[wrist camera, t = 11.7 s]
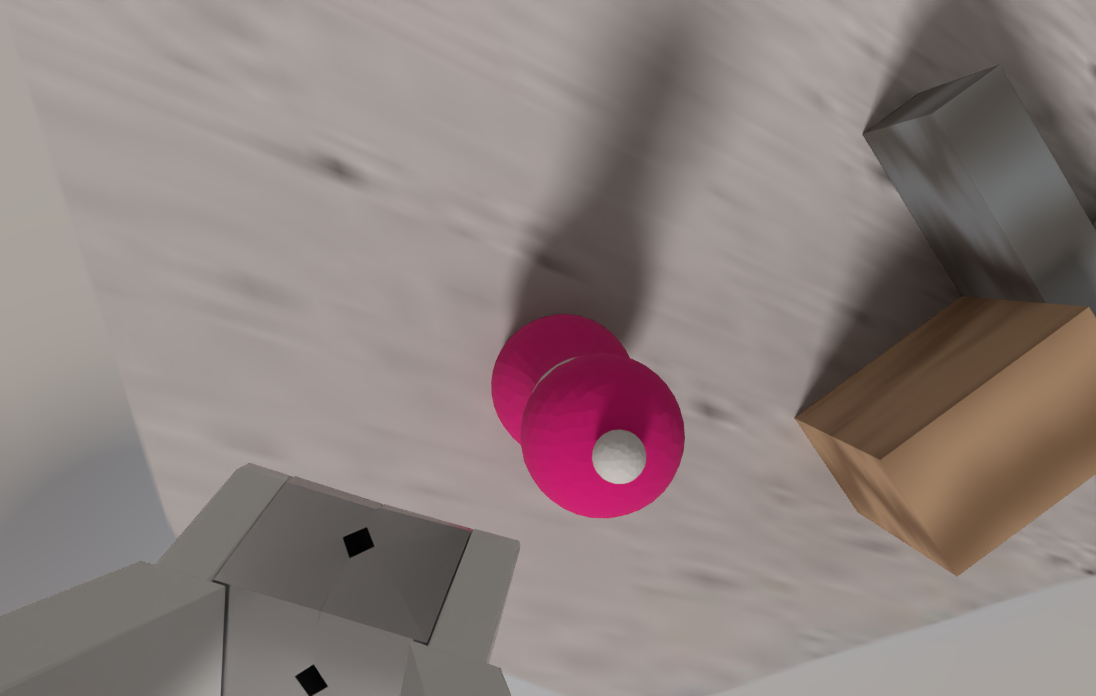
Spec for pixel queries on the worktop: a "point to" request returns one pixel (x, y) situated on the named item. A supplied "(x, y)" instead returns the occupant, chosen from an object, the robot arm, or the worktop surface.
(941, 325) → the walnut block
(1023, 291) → the charcoal board
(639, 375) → the pepper mill
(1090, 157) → the worktop surface
